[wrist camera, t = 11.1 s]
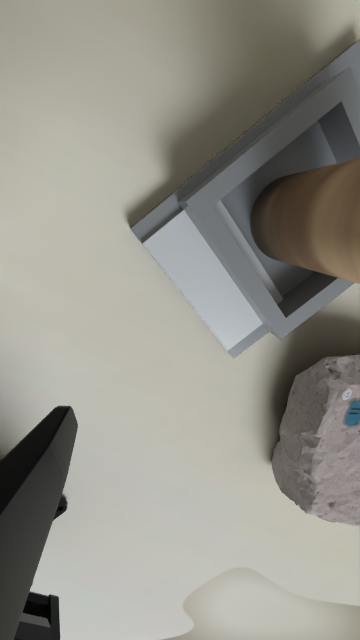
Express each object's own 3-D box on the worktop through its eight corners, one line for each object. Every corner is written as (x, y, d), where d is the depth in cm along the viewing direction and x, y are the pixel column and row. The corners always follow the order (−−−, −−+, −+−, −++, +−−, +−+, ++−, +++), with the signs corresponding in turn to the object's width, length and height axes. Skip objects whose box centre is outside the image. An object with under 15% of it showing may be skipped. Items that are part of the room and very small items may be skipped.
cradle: (229, 353, 22) (245, 374, 20) (130, 228, 18) (132, 231, 15) (414, 211, 21) (458, 211, 19) (353, 43, 17) (399, 12, 14)
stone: (297, 330, 23) (353, 371, 17) (398, 345, 25) (475, 385, 20) (247, 469, 27) (279, 537, 22) (337, 471, 29) (387, 533, 24)
